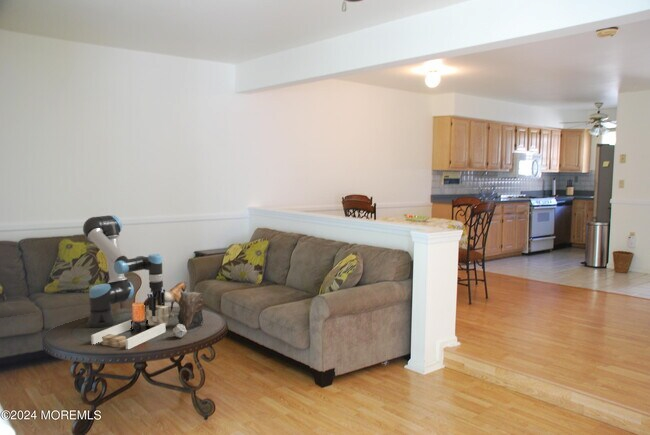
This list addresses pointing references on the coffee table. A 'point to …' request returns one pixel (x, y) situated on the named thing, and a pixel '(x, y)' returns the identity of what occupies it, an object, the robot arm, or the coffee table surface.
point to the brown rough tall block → (190, 309)
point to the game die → (179, 330)
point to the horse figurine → (171, 295)
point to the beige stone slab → (158, 315)
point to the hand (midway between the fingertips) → (157, 320)
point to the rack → (132, 340)
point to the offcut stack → (114, 340)
